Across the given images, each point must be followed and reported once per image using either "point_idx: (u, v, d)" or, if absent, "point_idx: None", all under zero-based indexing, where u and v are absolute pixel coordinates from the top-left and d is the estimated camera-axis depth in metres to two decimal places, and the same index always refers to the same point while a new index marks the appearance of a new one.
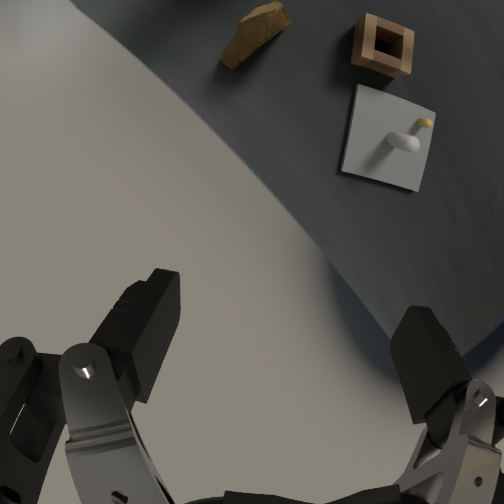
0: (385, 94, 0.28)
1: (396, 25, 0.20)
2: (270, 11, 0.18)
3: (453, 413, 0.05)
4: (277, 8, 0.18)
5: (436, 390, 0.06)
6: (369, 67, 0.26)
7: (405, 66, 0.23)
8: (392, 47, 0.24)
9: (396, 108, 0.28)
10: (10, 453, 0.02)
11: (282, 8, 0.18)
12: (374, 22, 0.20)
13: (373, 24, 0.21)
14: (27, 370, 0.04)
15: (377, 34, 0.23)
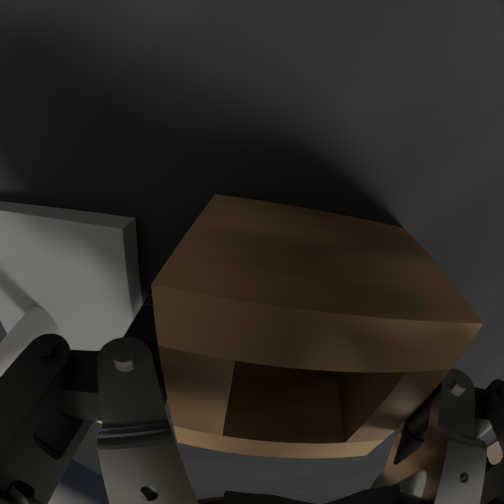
0: (127, 317, 0.10)
1: (392, 425, 0.06)
2: None
3: (428, 402, 0.05)
4: None
5: None
6: None
7: (199, 438, 0.07)
8: None
9: (107, 340, 0.11)
10: (31, 450, 0.03)
11: None
12: (424, 363, 0.05)
13: (412, 358, 0.04)
14: (62, 367, 0.04)
15: None
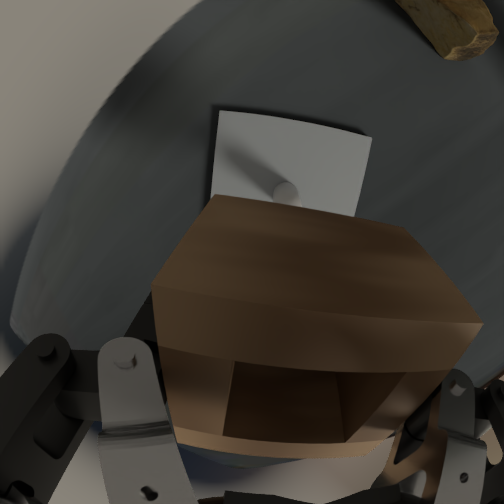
0: (359, 182, 0.21)
1: (393, 425, 0.06)
2: (489, 13, 0.06)
3: (428, 402, 0.05)
4: None
5: None
6: None
7: (199, 439, 0.07)
8: None
9: (338, 200, 0.22)
10: (31, 450, 0.03)
11: (496, 30, 0.06)
12: (425, 363, 0.05)
13: (412, 359, 0.04)
14: (62, 367, 0.04)
15: None
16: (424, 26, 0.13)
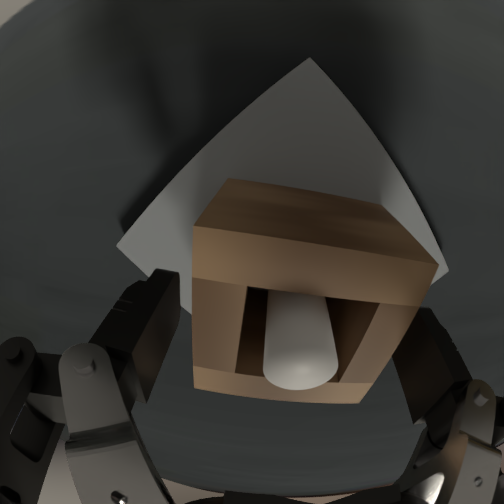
0: None
1: (378, 364, 0.08)
2: None
3: (453, 413, 0.05)
4: None
5: (436, 390, 0.06)
6: None
7: (214, 379, 0.09)
8: None
9: None
10: (10, 453, 0.02)
11: None
12: (393, 295, 0.07)
13: (382, 290, 0.07)
14: (27, 370, 0.04)
15: None
16: None
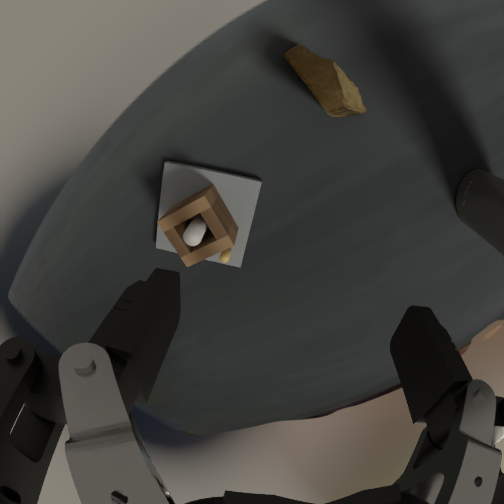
0: (252, 211, 0.34)
1: (220, 228, 0.29)
2: (342, 94, 0.19)
3: (453, 413, 0.05)
4: (347, 103, 0.20)
5: (436, 390, 0.06)
6: None
7: (188, 259, 0.32)
8: None
9: (237, 222, 0.34)
10: (10, 453, 0.02)
11: (345, 107, 0.20)
12: (201, 209, 0.29)
13: (197, 209, 0.29)
14: (27, 370, 0.04)
15: None
16: None
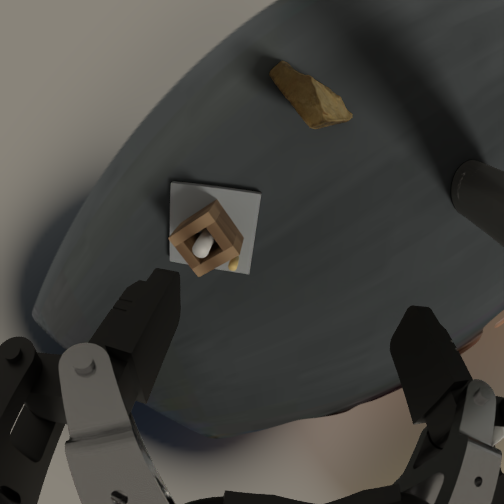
0: (255, 221, 0.37)
1: (225, 240, 0.33)
2: (321, 108, 0.22)
3: (453, 413, 0.05)
4: (327, 116, 0.22)
5: (436, 390, 0.06)
6: None
7: (199, 270, 0.35)
8: None
9: (242, 233, 0.37)
10: (10, 453, 0.02)
11: (326, 120, 0.22)
12: (206, 224, 0.32)
13: (203, 225, 0.32)
14: (27, 370, 0.04)
15: None
16: None
